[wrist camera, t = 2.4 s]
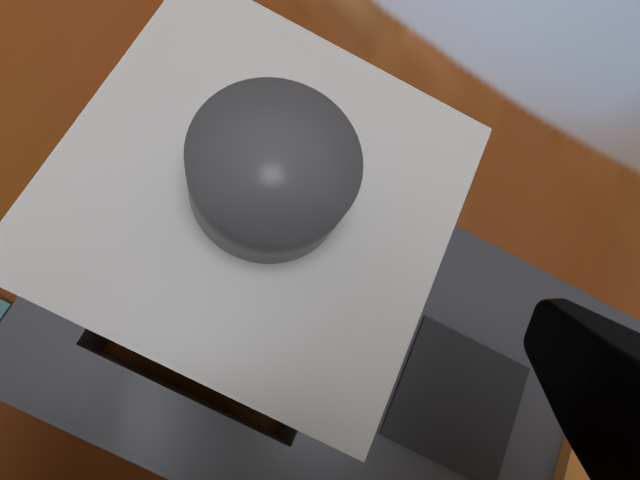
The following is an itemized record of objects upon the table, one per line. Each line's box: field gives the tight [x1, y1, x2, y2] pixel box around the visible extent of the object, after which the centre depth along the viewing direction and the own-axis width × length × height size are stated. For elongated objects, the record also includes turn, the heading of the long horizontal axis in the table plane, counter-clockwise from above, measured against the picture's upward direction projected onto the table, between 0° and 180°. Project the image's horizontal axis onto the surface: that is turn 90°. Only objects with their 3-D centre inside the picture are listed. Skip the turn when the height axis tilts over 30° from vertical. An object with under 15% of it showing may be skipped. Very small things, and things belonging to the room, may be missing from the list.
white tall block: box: [0, 0, 492, 462], centre depth 11 cm, size 5×5×12 cm
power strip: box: [0, 225, 640, 480], centre depth 15 cm, size 10×18×4 cm, turn 65°
